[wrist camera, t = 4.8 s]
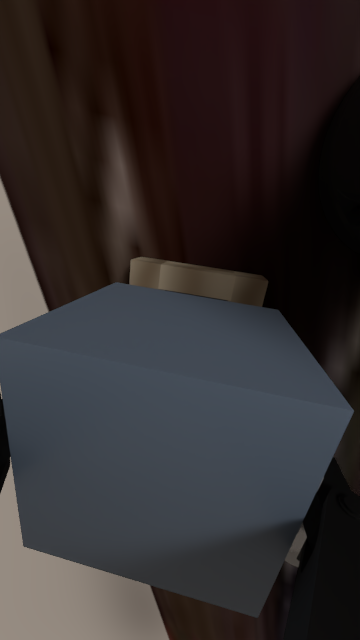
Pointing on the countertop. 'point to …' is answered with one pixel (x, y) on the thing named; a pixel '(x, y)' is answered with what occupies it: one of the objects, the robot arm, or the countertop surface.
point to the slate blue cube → (168, 438)
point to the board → (198, 280)
